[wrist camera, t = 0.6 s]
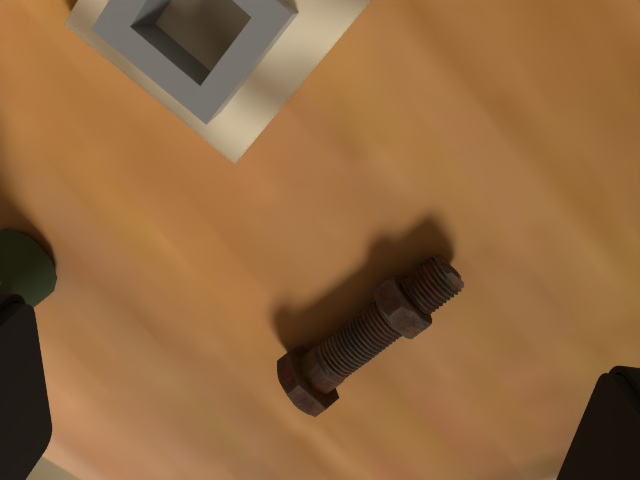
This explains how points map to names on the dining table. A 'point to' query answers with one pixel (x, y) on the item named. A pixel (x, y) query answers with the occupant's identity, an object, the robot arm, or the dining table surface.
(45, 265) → the character mug
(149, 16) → the gray square socket
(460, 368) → the dining table surface
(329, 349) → the bolt
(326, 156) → the dining table surface
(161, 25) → the socket board
